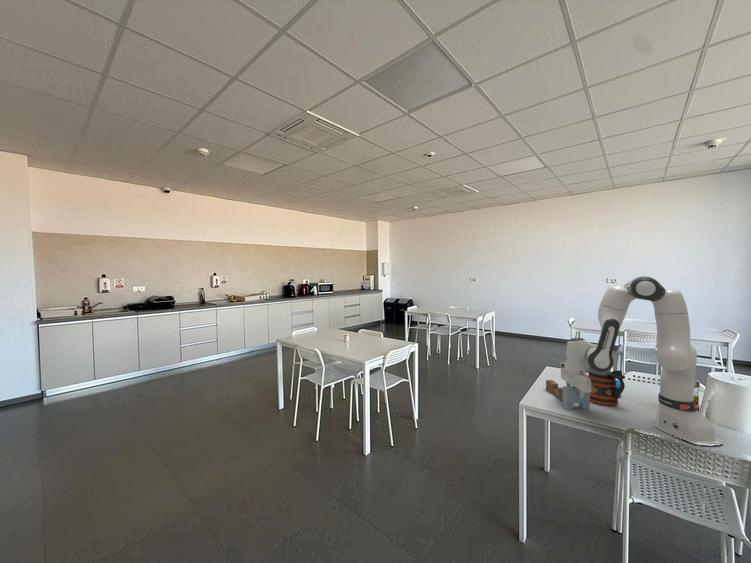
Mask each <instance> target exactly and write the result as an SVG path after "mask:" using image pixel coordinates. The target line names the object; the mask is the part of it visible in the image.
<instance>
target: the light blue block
mask: <svg viewBox="0 0 751 563" xmlns="http://www.w3.org/2000/svg"><path fill="white" fill-rule="evenodd" d="M562 387H563V402H562V407H563V408H564V409H566V410H574V404H578V407H580V409H582V410H591V409H590V408H591V407H590V405H591V404H590V403H591V402H590V393H585V394H584V398H583V399H581V398H579V397H578V394H580V390H579V389H577V388H576V387H574V386H572V385H571V386H567V385H562Z"/></svg>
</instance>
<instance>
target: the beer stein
mask: <svg viewBox="0 0 751 563" xmlns="http://www.w3.org/2000/svg"><path fill="white" fill-rule="evenodd" d="M587 375H588V377H589V378H590V380H591V392H590V403H593V404H597V405H601V406H610V407H611V406H616V405H618V404H619V401H618V400H619V399H620V398H621V397H620V394H621V395H622V393H623V392H624V390H625V387H626V385H625V381H624V379H626V375H623V371H622V370H618V369H617V370H613V371H611V370H609V371H606V372H598V371H595V370H593V369H592V368H591V367H590V366H589V367H588V374H587ZM616 380H618V381H620V384H621V385H620V387H619V388H616V386H617V384H616Z"/></svg>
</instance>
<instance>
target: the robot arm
mask: <svg viewBox="0 0 751 563" xmlns="http://www.w3.org/2000/svg"><path fill="white" fill-rule="evenodd" d="M635 300H643V301H649V302H651V303H652V305H653V312H654V317H655V318H654V319H655V325H656V352H657V353H656V358H657V361H658V362H657V363H659V365H660V366H661V372H660V376H659V393H658V396H657V399H658V402H659V403H658V407H657V411H656V416H655V420H654V423H653V427H654V428H656V429H658V430H660V431H662V432H664V433H666V434H668V435H670V436H672V435H673V436H672V437H675V438H677V437H678V438H677V439H679V438H680V439H679V440H681V439H683V440H686V441H689V442H693V443H697V442H701V443H708V444H721V443H724V441H723V440H722V439H720V438H718V437H717V436H716V432H715V428H714V426H713V424H711V423H710V421H708V420H707V419H706V418H705V417H704V415H702V414H701V412H699V411H698V410H699V409H700V408H701V405H698V404H697V403H696V400H695V398H694V396H695V393H694V392H695V377H696V372H697V371H696V370H697V359H698V352H697V350H696V348H695V346H694V345H692V344H691V325H690V318H689V312H688V306H687V303H686V300H685V297H684V295H683V293H682V292H681V291H680V290H678V289H675V288H665V287H664V286H663V285H662V284H661V283H660V282H659V281H658V280H656V279H655V278H653V277H651V276H646V275H641V276H636V277H634V278H633V279H631V280H630V281H628V282H627V283H626V284H625V285H611V286H610V287H609V286H608V288H607V289H606V291H605V292H604V294H603V296H602V298H601V301H600V304H599V307H598V310H597V312H598V313H597V319H598V322H599V326H600V335H599V337H598V342H597V344H594V343H592V342H589V341H587V340H586V339H585V338H583V337H573V338H569V339H568V341H567V343H566V350H565V351H566V352H565V354H566V360H565V362H561V363H560V377H561V380H563V381H565V384H566V385H565V386H574V387H576V388H577V389H579V390H580V394H578V397H579V398H581V399H583V398H584V394H585V393H590V392H591V380H590V378H589V377H588V374H587V364H588V366H589V367H590V368H592V369H593V370H595V371H598V372H606V371H611V369H613V367H614V362H615V361H614V356H613V353H614V348H615V345H616V341H617V338H618V335H619V331H620V329H621V327H622V324H623V323H624V320H625V317H626V315H627V313H628V309H629V307H630V305H631V303H632V302H633V301H635ZM683 440H682V441H683ZM715 441H718V442H720V443H717V442H715Z"/></svg>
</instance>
